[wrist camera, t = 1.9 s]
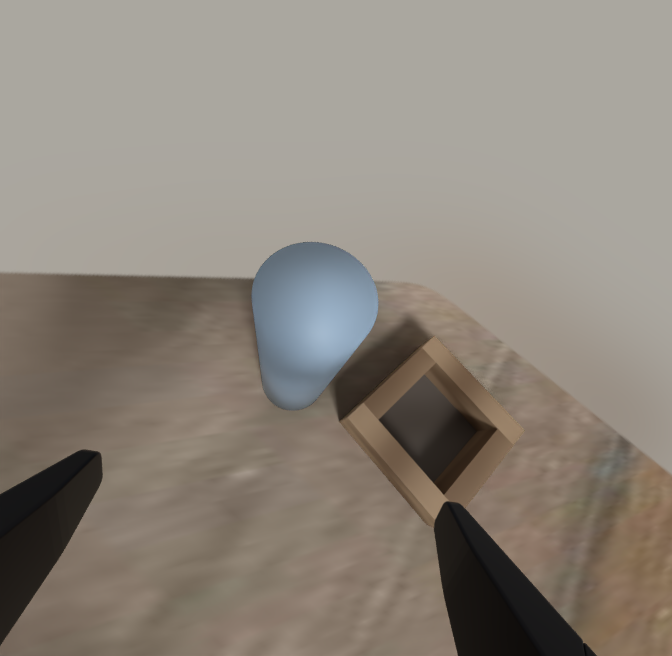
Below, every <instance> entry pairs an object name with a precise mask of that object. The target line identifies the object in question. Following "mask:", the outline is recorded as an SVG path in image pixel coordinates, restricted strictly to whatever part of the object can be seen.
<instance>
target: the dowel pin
mask: <svg viewBox="0 0 672 656" xmlns="http://www.w3.org/2000/svg"><path fill="white" fill-rule="evenodd" d="M252 307H253V314H254V322H255V330H256V338H257V345H258V353H259V361H260V369H261V377H262V384H263V389H264V392H265V394H266V396H267V397H268V399H269V400H270V401H271V402H272V403H273V404H274V405H276V406H278V407H280V408H282V409H285V410H300V409H304V408H306V407H308V406H310V405H311V404H312V403H314V402H315V401H316V399H317V398H318V397H319V396H320V394H321V393H322V392H323V391H324V389H325V388H326V387H327V386H328V384H329V383H330V382H331V380H332V379H333V378H334V377H335V375H336V374H337V373H338V372H339V370H340V369H341V368H342V367H343V365H344V364H345V363H346V361H347V360H348V359H349V358H350V356H351V355H352V354H353V353H354V351H355V350H356V349H357V347H358V346H359V345H360V344H361V342H362V341H363V340H364V339H365V337H366V336H367V335H368V333H369V332H370V331H371V329H372V327H373V325H374V323H375V320H376V317H377V312H378V295H377V290H376V287H375V284H374V281H373V279H372V278H371V275H370V274H369V272H368V271H367V269H366V268H365V267H364V266H363V264H362V263H361V262H359V261H358V260H357V259H356V258H355V257H354V256H352V255H351V254H350V253H348V252H346V251H344V250H343V249H340V248H338V247H336V246H333V245H329V244H325V243H319V242H303V243H297V244H293V245H290V246H287V247H285V248H282V249H281V250H279V251H277V252H276V253H274V254H273V255H271V256H270V257H269V258H268V259H267V260H266V261H265V262H264V263H263V265H262V266H261V267H260V269H259V271H258V272H257V274H256V277H255V279H254V282H253V287H252Z"/></svg>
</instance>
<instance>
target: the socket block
mask: <svg viewBox="0 0 672 656" xmlns="http://www.w3.org/2000/svg"><path fill="white" fill-rule="evenodd" d="M339 422H340V423H341V424H342V425H343V427H344V428H345V429H346V430H347V431H348V432H349V434H350V435H351V436H352V437H353V438H354V440H355V441H356V442H357V443H358V444H359V445H360V447H361V448H362V449H363V450H364V451H365V453H366V454H367V455H368V456H369V457H370V458H371V460H372V461H373V462H374V463H375V464H376V465H377V467H378V468H379V469H380V470H381V471H382V473H383V474H384V475H385V476H386V477H387V478H388V480H389V481H390V482H391V483H392V484H393V486H394V487H395V488H396V489H397V490H398V491H399V493H400V494H401V495H402V496H403V497H404V498H405V500H406V501H407V502H408V503H409V504H410V506H411V507H412V508H413V509H414V510H415V511H416V513H417V514H418V515H419V516H420V517H421V519H422V520H423V521H424V522H425V523H426V524H427V525H429V526H431V527H433V528H434V522H435V519H436V517H437V515H438V513H439V511H440V509H441V507H442V505H443V503H444V502H446V501H450V502H457V503H460V504H461V505H462V506H463V507H464V508H466V507H467V505H468V504H469V503H470V501H471V500H472V499H473V498H474V496H475V495H476V494H477V492H478V491H479V490H480V488H481V487H482V486H483V484H484V483H485V482H486V481H487V479H488V478H489V477H490V475H491V474H492V473H493V471H494V470H495V469H496V468H497V466H498V465H499V464H500V462H501V461H502V460H503V458H504V457H505V456H506V455H507V453H508V452H509V451H510V449H511V448H512V447H513V445H514V444H515V443H516V442H517V440H518V439H519V438H520V436H521V435H522V434H523V432H524V431H525V430H524V429H523V428H522V427H521V426H520V425H519V424H518V423H517V422H516V421H515V420H514V419H513V418H512V417H511V415H510V414H509V413H508V412H507V411H506V410H505V409H504V408H503V407H502V406H501V405H500V404H499V403H498V402H497V401H496V400H495V399H494V398H493V397H492V396H491V394H490V393H489V392H488V391H487V390H486V389H485V388H484V387H483V386H482V385H481V384H480V383H479V382H478V381H477V380H476V379H475V378H474V377H473V376H472V375H471V373H470V372H469V371H468V370H467V369H466V368H465V367H464V366H463V365H462V364H461V363H460V362H459V361H458V360H457V359H456V358H455V357H454V356H453V355H452V354H451V352H450V351H449V350H448V349H447V348H446V347H445V346H444V345H443V344H442V343H441V342H440V341H439V340H438V339H437V338H436V337H435V336H433V337H432V338H431V339H429V340H428V341H427V342H425V343H424V344H423V345H421V346H420V347H419V348H418V349H417V350H415V351H414V352H413V353H412V354H411V355H410V356H409V357H408V358H407V359H406V360H405V361H404V362H403V363H402V364H400V365H399V366H398V367H397V368H396V369H395V370H394V371H393V372H392V373H391V374H390V375H389V376H388V377H387V378H385V379H384V380H383V381H382V382H381V383H380V384H379V385H378V386H377V387H376V388H375V389H374V390H373V391H372V392H371V393H369V394H368V395H367V396H366V397H365V398H364V399H363V400H362V401H361V402H360V403H359V404H358V405H357V406H356V407H354V408H353V409H352V410H351V411H350V412H349V413H348V414H347V415H346V416H345V417H344V418H343V419H342V420H341V421H339Z"/></svg>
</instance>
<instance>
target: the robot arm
mask: <svg viewBox="0 0 672 656" xmlns="http://www.w3.org/2000/svg"><path fill="white" fill-rule="evenodd" d="M102 476H103V473H102V458H101V454H100V452H98V451H92V450H80V451H77V452H76V453H74V454H72V455H70V456H68V457H67V458H65V459H63V460H61V461H59V462H57V463H56V464H54V465H52V466H50V467H48V468H47V469H45V470H43V471H41V472H39V473H38V474H36V475H34V476H32V477H30V478H29V479H27V480H25V481H23V482H21V483H20V484H18V485H16V486H14V487H12V488H11V489H9V490H7V491H5V492H3V493H2V494H0V645H1V644H2V642H3V641H4V639H5V638H6V636H7V635H8V633H9V632H10V630H11V629H12V627H13V626H14V624H15V623H16V621H17V620H18V619H19V617H20V616H21V614H22V613H23V611H24V610H25V608H26V607H27V605H28V604H29V602H30V601H31V599H32V598H33V596H34V595H35V593H36V592H37V590H38V589H39V587H40V586H41V584H42V583H43V581H44V580H45V578H46V577H47V575H48V574H49V572H50V571H51V569H52V568H53V566H54V565H55V564H56V562H57V560H58V559H59V557H60V556H61V554H62V553H63V551H64V549H65V548H66V546H67V544H68V542H69V541H70V539H71V537H72V535H73V533H74V532H75V530H76V528H77V526H78V524H79V522H80V521H81V519H82V517H83V515H84V513H85V512H86V510H87V508H88V506H89V504H90V502H91V501H92V499H93V497H94V495H95V493H96V491H97V490H98V488H99V486H100V484H101V481H102ZM434 533H435V540H436V547H437V554H438V561H439V568H440V575H441V582H442V588H443V593H444V598H445V603H446V607H447V611H448V615H449V620H450V624H451V628H452V632H453V637H454V641H455V645H456V649H457V653H458V656H597V655H596V654H595V653H594V652H593V651H592V650H591V649H590V648H589V646H588V645H587V644H586V643H583V640H582V639H581V638H580V637H579V635H578V634H577V633H576V632H575V631H574V630H573V629H572V628H571V626H570V625H569V624H568V623H567V622H566V621H565V620H564V619H563V617H562V616H561V615H560V614H559V613H558V612H557V611H556V610H555V609H554V607H553V606H552V605H551V604H550V603H549V602H548V601H547V600H546V598H545V597H544V596H543V595H542V594H541V593H540V592H539V591H538V590H537V588H536V587H535V586H534V585H533V584H532V583H531V582H530V581H529V579H528V578H527V577H526V576H525V575H524V574H523V573H522V572H521V571H520V569H519V568H518V567H517V566H516V565H515V564H514V563H513V562H512V560H511V559H510V558H509V557H508V556H507V555H506V554H505V553H504V551H503V550H502V549H501V548H500V547H499V546H498V545H497V544H496V543H495V541H494V540H493V539H492V538H491V537H490V536H489V535H488V534H487V532H486V531H485V530H484V529H483V528H482V527H481V526H480V525H479V524H478V522H477V521H476V520H475V519H474V518H473V517H472V516H471V515H470V513H469V512H468V511H467V510H466V509H465V508H464V507H463V506H462V505H461V504H460V503H457V502H450V501H446V502H444V503H443V505H442V507H441V509H440V511H439V513H438V515H437V517H436V519H435V522H434Z"/></svg>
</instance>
